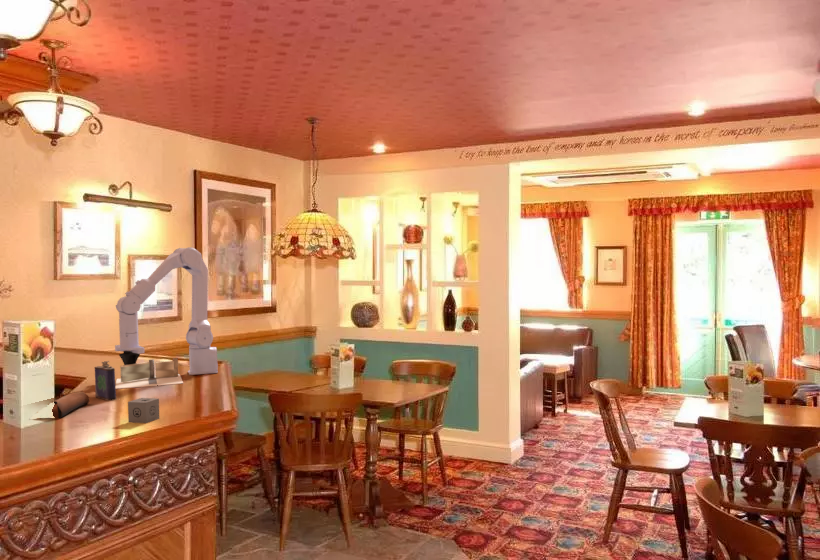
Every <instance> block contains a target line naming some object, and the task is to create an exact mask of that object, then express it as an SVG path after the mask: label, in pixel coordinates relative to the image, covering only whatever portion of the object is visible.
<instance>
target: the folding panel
mask: <svg viewBox="0 0 820 560" xmlns="http://www.w3.org/2000/svg"><path fill="white" fill-rule="evenodd" d="M149 363H150V362H149V361H144V362H136V364H129V365H124V364H123V365H120V366H119V369H120V378H121V382H127V381H133V380H139V379H145V378H150V366H149Z"/></svg>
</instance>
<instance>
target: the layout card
mask: <svg viewBox="0 0 820 560" xmlns="http://www.w3.org/2000/svg"><path fill="white" fill-rule="evenodd" d="M180 384H184V381H183V379H182V376H181V374H179V373H178V377H163V378H156V375H155V378H151V379H150V378H145V379H139V380H133V381H127V382H121V377H120V378H116V379H115V388H116V390H119V389H120V390H121V389H130V388H131V389H132V388H142V387H143V388H144V387H156V386H157V385H158V386H157V387H159V386H169V385H180Z"/></svg>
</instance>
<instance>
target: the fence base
mask: <svg viewBox="0 0 820 560" xmlns="http://www.w3.org/2000/svg"><path fill="white" fill-rule="evenodd" d="M178 359H179V358H178V357H173V358H172V360H170V361H159V362H158V361H156V362H155V359H148V362H150V363H149V366H150V379H151V378H155V376H156V378H163V377H178V374H179V362H178V361H179V360H178Z"/></svg>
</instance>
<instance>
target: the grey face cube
mask: <svg viewBox="0 0 820 560" xmlns="http://www.w3.org/2000/svg"><path fill="white" fill-rule="evenodd" d="M127 409H128V410H127V413H128V414H127V415H128V416H127V417H128V418H127V419H128V423H135V424H136V423H137V424H148V423H150V422H151V423H152V422H154V421H157V420H160V398H157V397H156V398H155V397H152V398H149V397H140V398H136V399H133V400H130V401H128V402H127Z"/></svg>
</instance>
